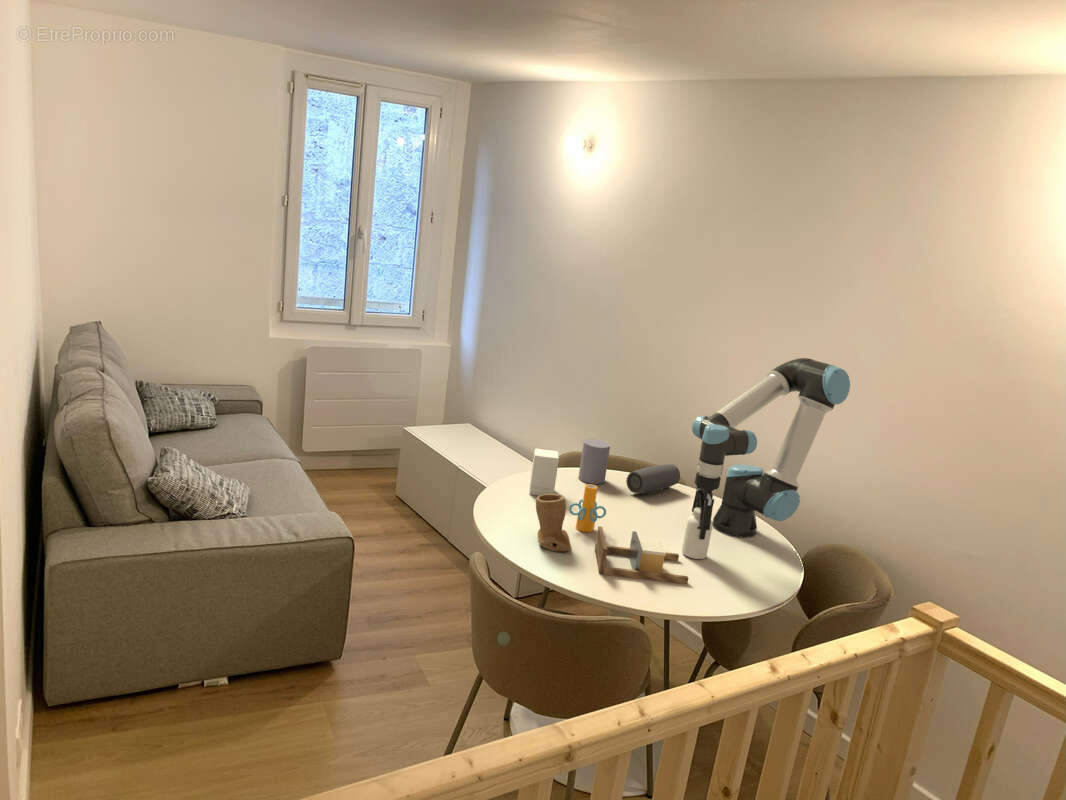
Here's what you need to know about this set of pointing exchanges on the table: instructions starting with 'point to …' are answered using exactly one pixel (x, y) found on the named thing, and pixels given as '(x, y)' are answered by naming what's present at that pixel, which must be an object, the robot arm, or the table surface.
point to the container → (594, 461)
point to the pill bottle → (691, 536)
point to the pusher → (635, 551)
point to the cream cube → (652, 556)
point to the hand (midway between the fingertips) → (696, 541)
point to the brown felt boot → (552, 522)
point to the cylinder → (587, 510)
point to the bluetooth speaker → (653, 479)
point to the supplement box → (544, 472)
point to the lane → (601, 553)
